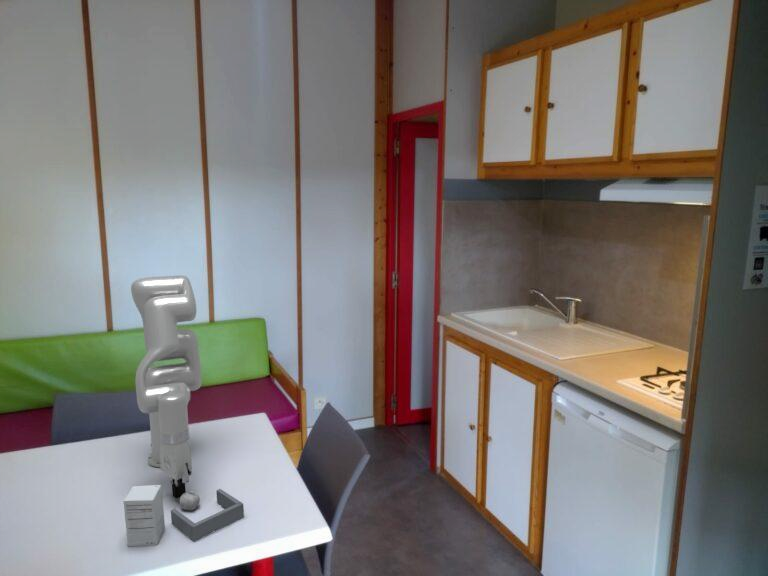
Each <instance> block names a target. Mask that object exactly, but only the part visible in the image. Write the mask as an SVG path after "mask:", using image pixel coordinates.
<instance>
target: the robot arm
mask: <svg viewBox="0 0 768 576" xmlns="http://www.w3.org/2000/svg"><path fill="white" fill-rule="evenodd" d="M130 291H131V292H130V293H131V296H132V300H133V303H134V306H135V307H136V309H137V311H138V312H139V314H140V316H141V318H142V319H141V320H142V325H143V326H142V327H143V337H144V338H143V339H144V347H145V356H144V357H143V358H142V359H141V361H140V363H139V365H138V366H137V368H136V373H135V381H134V382H135V392H136V402H137V407H138V409H139V411H140V412H141V413H143V414H148V416H149V429H150V442H151V443H150V447H151V453H150V454H149V455H148V457H147V463H148V465H150V466H151V467H154V468H160V470H161V471H162V472H163V473H164V474H166V476H168V477H169V478H170V479H169V480H170V483H171V493H172V497H173V498H174V499H176V500H177V499H180V497H181V496H182V494H183V493H185V492H187V490H186V483H189V482H190V477H189V476H192V474H193V463H192V456H191V449H190V448H191V447H190V443H189V441H190V429H189V416H188V414H189V413H188V404H189V402H190V401H191V392H194V391H197V390H199V389H200V388H201V386H202V382H203V381H202V378H203V377H202V370H201V369H202V367H201V358H200V348H199V343H198V342H199V341H198V336H197V334H196V333H195V331H194V330H193V329H190V328H178V325H177V323H183V322H185V323H186V322H191V321H194V320H195V318H196V317H197V303H196V299H195V294H194V291H193V287H192V283H191V280H190V279H189V277H187V275H169V276H168V275H166V276H151V277H150V276H149V277H143V278H138V279H136V280H134V281H133V282H132V283H131V287H130ZM174 360H184V361H185V362H178V363H170V364H162V365H156V366H155V365H154V364H155V363H157V362H165V361H174ZM153 365H154V366H153ZM151 366H152V367H151Z"/></svg>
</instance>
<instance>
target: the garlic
mask: <svg viewBox="0 0 768 576" xmlns="http://www.w3.org/2000/svg"><path fill="white" fill-rule="evenodd" d="M200 501H201V498H200V495H199V493H198V491H193V490H188V491H186V492H185V493H183V494H182V496H181V497H180V498H179V505H180V507H181V509H182V510H184V511H185V510H186V511H193V510H195V509H196V508H197V507H198V506H199V505H200Z"/></svg>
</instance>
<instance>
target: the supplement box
mask: <svg viewBox="0 0 768 576" xmlns="http://www.w3.org/2000/svg"><path fill="white" fill-rule="evenodd" d="M123 509H124V521H125V530H126V539H127V547H150V546H158V545H159V543H160V540H161V537H162V535H163V534H164V532H165V529H166V526H165V525H166V524H165V512H164V511H165V510H164V500H163V490H162V485H161V484H151V485H149V484H148V485H134V486H132V487H131V489H130V490H129V492H128V494H127V495H126V497H125V498H124V500H123Z"/></svg>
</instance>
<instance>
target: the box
mask: <svg viewBox="0 0 768 576" xmlns="http://www.w3.org/2000/svg"><path fill="white" fill-rule="evenodd" d="M216 503H218V504H217V505H219V506H220V505H221V508H223V507H224V509H223V510H221V511H218V512H216V513H215V514H211V515H210V516H208V517H205V518H203V519H201V520H199V521H197V522H194V521H192V520H191V519H189V518H188V517H187V516H186V515H184V514H183V513H182V512H180V511H179V510H178V509H176V508H173V509H171V510H170V518H171V520H170V521H171V525H172V524H173V525H172V526H173V527H175V528H176V529H177V530H178V531H180V532H181V533H182V534H183V535H184V536H185V537H187V536H188V537H187V538H188V539H190V540H191V541H192V540H193V541H192V542H196V541H199V540H201V539H202V537H203V538H205V537H206V535H207V536H209V535H210V533H211V534H213V533H214V532H213V531H215V532H217V531H218V529H219V530H221V529H222V527H223V528H225V527H227V526H229V525H231V524H232V523H235V522H237V521H239V520H241V519H243V518H245V513H244V511H245V510H244V503H243V502H242V501H240V500H239V499H237V498H236V497H234V496H233V495H231V494H229V493H228V492H226V491H224V490H223V489H222V488H218V489H216ZM236 520H237V521H236ZM224 526H225V527H224ZM220 528H221V529H220ZM216 530H217V531H216ZM212 532H213V533H212ZM208 534H209V535H208ZM204 536H205V537H204ZM200 538H201V539H200Z"/></svg>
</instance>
